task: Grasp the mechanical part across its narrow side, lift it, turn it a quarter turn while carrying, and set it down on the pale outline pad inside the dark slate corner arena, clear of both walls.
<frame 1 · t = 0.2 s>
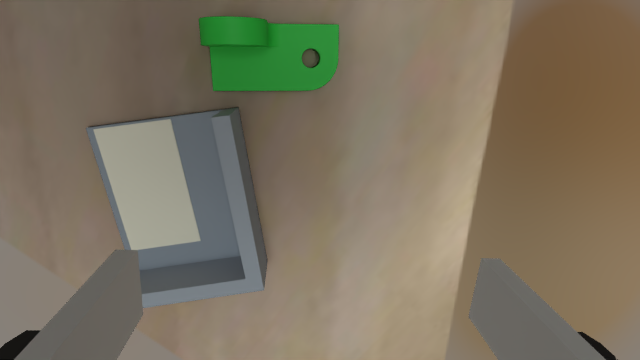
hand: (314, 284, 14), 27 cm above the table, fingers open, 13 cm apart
mechanical part: (276, 58, 37), on the table
corner arena: (185, 198, 41), on the table
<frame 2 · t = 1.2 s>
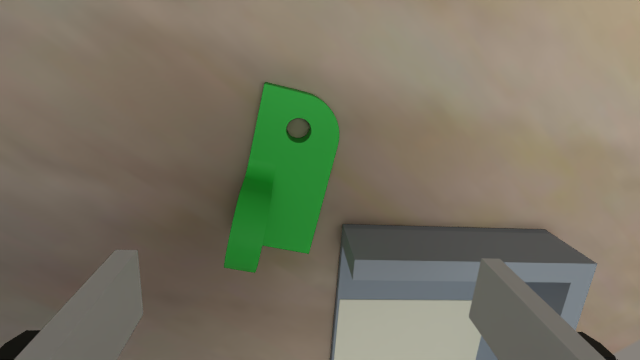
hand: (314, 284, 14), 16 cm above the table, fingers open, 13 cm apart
mechanical part: (288, 167, 30), on the table
corner arena: (432, 301, 34), on the table
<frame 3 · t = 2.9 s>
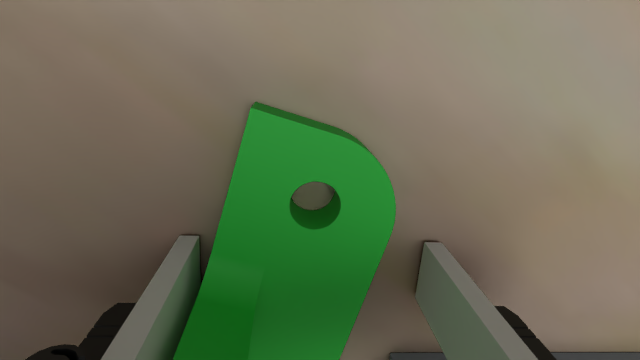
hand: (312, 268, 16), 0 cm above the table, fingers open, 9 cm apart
mechanical part: (287, 257, 16), on the table
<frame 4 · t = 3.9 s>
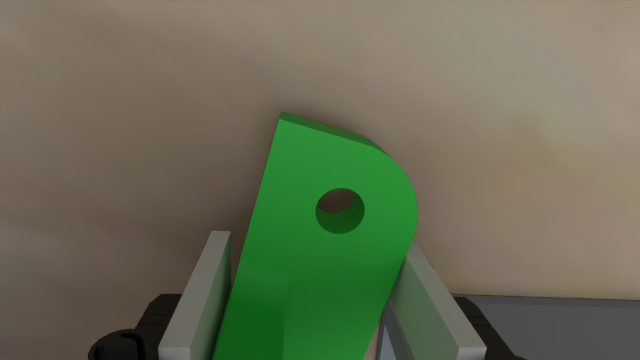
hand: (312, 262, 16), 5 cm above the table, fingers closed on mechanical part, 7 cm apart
mechanical part: (310, 261, 17), point 4 cm above the table, touching gripper
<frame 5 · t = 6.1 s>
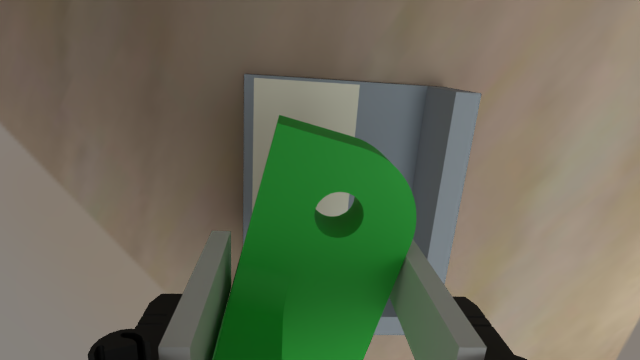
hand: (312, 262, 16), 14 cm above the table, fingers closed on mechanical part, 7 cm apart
mechanical part: (309, 264, 17), point 14 cm above the table, touching gripper
corner arena: (337, 194, 31), on the table
when the fingers open (2 cm above the table, at t = 8.6 s): mechanical part stays where it is, resting on corner arena.
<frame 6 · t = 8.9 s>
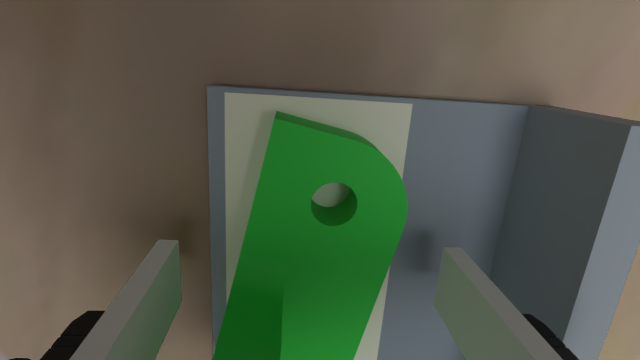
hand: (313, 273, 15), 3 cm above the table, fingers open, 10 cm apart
mechanical part: (307, 253, 17), point 1 cm above the table, touching corner arena
corner arena: (366, 278, 19), on the table
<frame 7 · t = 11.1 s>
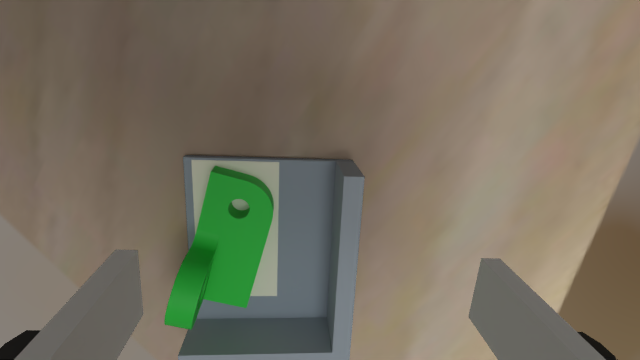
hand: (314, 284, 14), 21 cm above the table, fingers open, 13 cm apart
mechanical part: (233, 233, 35), point 1 cm above the table, touching corner arena
corner arena: (269, 247, 36), on the table
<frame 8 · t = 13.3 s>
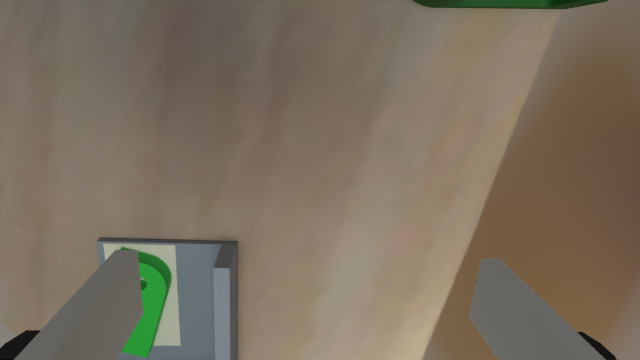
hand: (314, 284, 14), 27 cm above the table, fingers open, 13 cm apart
mechanical part: (139, 297, 43), point 1 cm above the table, touching corner arena
corner arena: (174, 307, 45), on the table
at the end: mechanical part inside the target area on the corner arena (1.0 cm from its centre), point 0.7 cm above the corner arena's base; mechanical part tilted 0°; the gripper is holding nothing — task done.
